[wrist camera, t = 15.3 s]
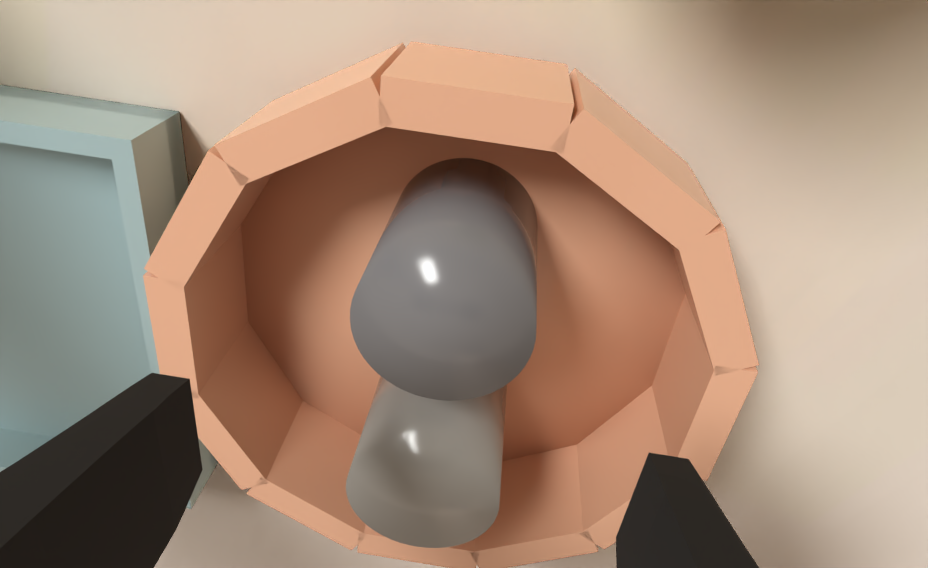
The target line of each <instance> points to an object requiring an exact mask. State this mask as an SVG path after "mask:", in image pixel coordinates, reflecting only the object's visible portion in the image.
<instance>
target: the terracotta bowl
mask: <svg viewBox="0 0 928 568" xmlns="http://www.w3.org/2000/svg"><path fill="white" fill-rule="evenodd" d="M455 158H472V159H478V160H483V161H486V162H489V163H492V164H494V165H497V166H499V167H500V168H502V169H504V170H506V171H507V172H509V173H510V174H511V175H512V176H514V177H515V178H516V179H517V180H518V181H519V182H520V183H521V184H522V185H523V187H524V188H525V189H526V191H527V192H528V194H529V196H530V198H531V199H532V202H533V204H534V207H535V211H536V215H537V224H538V230H537V326H536V341H535V345H534V349H533V352H532V354H531V357H530V359H529V361H528V362H527V364H526V366H525V367H524V368H523V370H522V371H521V372H520V373H519V374H518V375H517V376H516V377H515V378H514V379H513V380H512V381H511V382H509V383H508V384H507V393H506V408H505V424H504V440H503V456H502V472H501V488H500V503H499V511H498V515H497V517H496V519H495V521H494V523H493V524H492V525H491V527H490V528H489V529H488V530H487V531H486V532H485V533H483V534H482V535H480V536H479V537H477V538H475V539H474V540H472V541H469V542H467V543H464V544H460V545H457V546H452V547H444V548H424V547H416V546H411V545H407V544H403V543H399V542H397V541H394V540H391V539H389V538H387V537H385V536H383V535H381V534H379V533H377V532H376V531H374V530H373V529H371V528H370V527H368V526H367V525H366V524H365V523H364V522H363V521H362V520H361V519H360V518H359V517H358V516H357V515H356V513H355V512H354V510H353V509H352V507H351V505H350V503H349V501H348V498H347V494H346V480H347V476H348V473H349V470H350V467H351V464H352V461H353V458H354V455H355V452H356V449H357V446H358V443H359V440H360V437H361V434H362V431H363V428H364V425H365V421H366V418H367V415H368V412H369V409H370V406H371V403H372V400H373V397H374V394H375V391H376V388H377V385H378V382H379V379H380V375H379V374H378V373H377V372H376V371H375V370H374V369H373V368H372V367H371V366H370V365H369V364H368V363H367V362H366V360H365V359H364V358H363V356H362V355H361V353H360V351H359V350H358V348H357V345H356V343H355V341H354V338H353V335H352V331H351V325H350V307H351V302H352V298H353V296H354V293H355V290H356V288H357V286H358V284H359V282H360V280H361V277H362V275H363V273H364V271H365V269H366V267H367V265H368V263H369V261H370V259H371V256H372V254H373V252H374V250H375V248H376V246H377V244H378V242H379V240H380V238H381V235H382V233H383V231H384V229H385V227H386V225H387V223H388V221H389V219H390V217H391V214H392V212H393V210H394V208H395V206H396V204H397V202H398V200H399V198H400V195H401V194H402V192H403V190H404V188H405V187H406V185H407V184H408V183H409V182H410V180H411V179H412V178H413V177H414V176H415V175H416V174H418V173H419V172H420V171H422V170H423V169H425V168H427V167H428V166H430V165H432V164H435V163H437V162H440V161H444V160H448V159H455ZM144 269H145V270H147V272H146V273H145V274H144V275H143V279H144V285H145V291H146V297H147V302H148V308H149V314H150V320H151V325H152V331H153V337H154V342H155V348H156V354H157V360H158V365H159V371H160V374H163V375H169V376H176V377H182V378H188V379H190V385H191V392H192V399H193V406H194V413H195V420H196V427H197V434H198V438H199V439H200V440H201V442H202V443H203V444H204V445H205V446H206V448H207V449H208V450H209V451H210V453H211V454H212V455H213V456H214V457H215V459H216V460H217V461H218V462H219V463H220V465H221V466H222V467H223V468H224V469H225V471H226V472H227V473H228V474H229V476H230V477H231V478H232V479H233V480H234V482H235V483H236V484H237V485H238V486H239V488H240V489H241V490H243V489H247V488H249V490H248V492H247V494H248V495H249V496H251V497H253V498H255V499H257V500H259V501H261V502H262V503H264V504H266V505H268V506H270V507H272V508H274V509H275V510H277V511H279V512H281V513H283V514H285V515H287V516H288V517H290V518H292V519H294V520H296V521H298V522H300V523H301V524H303V525H305V526H307V527H309V528H311V529H312V530H314V531H316V532H318V533H320V534H322V535H324V536H325V537H327V538H329V539H331V540H333V541H335V542H337V543H338V544H340V545H342V546H344V547H346V548H348V549H350V550H352V549H353V548H354V547H356V546H357V545H358V553H364V554H370V555H376V556H382V557H388V558H394V559H400V560H406V561H412V562H418V563H424V564H430V565H436V566H442V567H448V568H476V565H478V567H479V568H508V567H513V566H519V565H525V564H531V563H537V562H542V561H548V560H554V559H560V558H565V557H571V556H577V555H583V554H589V553H594V552H598V546H599V547H601V548H603V549H606V548H608V547H609V546H611V545H612V544H614V543H615V542H616V536H617V533H618V531H619V528H620V526H621V523H622V520H623V518H624V515H625V513H626V510H627V507H628V505H629V502H630V500H631V497H632V495H633V492H634V489H635V487H636V484H637V482H638V479H639V476H640V474H641V471H642V469H643V466H644V464H645V461H646V458H647V456H648V453H655V454H661V455H668V456H674V457H680V458H686V459H689V460H690V462H691V463H692V465H693V466H694V468H695V469H696V471H697V472H698V474H699V475H700V477H701V479H702V480H706V481H707V480H708V477H709V475H710V473H711V471H712V469H713V467H714V465H715V463H716V460H717V458H718V456H719V454H720V452H721V450H722V448H723V446H724V443H725V441H726V439H727V437H728V435H729V433H730V431H731V429H732V427H733V424H734V422H735V420H736V418H737V416H738V414H739V412H740V410H741V407H742V405H743V403H744V401H745V399H746V397H747V395H748V393H749V390H750V388H751V386H752V384H753V382H754V380H755V378H756V376H757V374H758V371H757V369H756V367H755V366H758V365H759V363H758V359H757V355H756V351H755V347H754V343H753V339H752V335H751V331H750V327H749V323H748V319H747V315H746V311H745V306H744V302H743V298H742V294H741V290H740V286H739V282H738V278H737V274H736V270H735V266H734V262H733V258H732V254H731V250H730V245H729V241H728V237H727V233H726V229H725V228H724V226H723V224H722V222H721V220H720V219H719V217H718V215H717V213H716V212H715V210H714V208H713V206H712V205H711V203H710V201H709V199H708V198H707V196H706V194H705V192H704V191H703V189H702V187H701V185H700V184H699V182H698V180H697V178H696V177H695V175H694V173H693V171H692V170H691V168H690V167H689V165H688V163H687V162H686V161H685V160H683V159H682V158H681V157H680V156H679V155H678V154H676V153H675V152H674V151H673V150H672V149H670V148H669V147H668V146H667V145H666V144H665V143H663V142H662V141H661V140H660V139H659V138H657V137H656V136H655V135H654V134H653V133H652V132H650V131H649V130H648V129H647V128H646V127H644V126H643V125H642V124H641V123H640V122H639V121H637V120H636V119H635V118H634V117H633V116H631V115H630V114H629V113H628V112H627V111H626V110H624V109H623V108H622V107H621V106H620V105H618V104H617V103H616V102H615V101H614V100H613V99H611V98H610V97H609V96H608V95H607V94H605V93H604V92H603V91H602V90H601V89H600V88H598V87H597V86H596V85H595V84H594V83H592V82H591V81H590V80H589V79H588V78H587V77H585V76H584V75H583V74H582V73H581V72H579V71H578V70H577V69H576V68H575V69H574V70H573V71H572V72H571V73H570V75H569V72H568V66H567V64H562V63H555V62H548V61H541V60H534V59H528V58H521V57H514V56H507V55H500V54H494V53H487V52H480V51H473V50H466V49H459V48H453V47H446V46H439V45H432V44H425V43H419V42H412V41H411V43H410V44H409V45H408V46H407V47H406V48H405V46H404V44H403V43H401V44H399V45H397V46H394V47H392V48H390V49H388V50H385V51H383V52H381V53H379V54H376V55H374V56H372V57H370V58H367V59H365V60H363V61H361V62H358V63H356V64H354V65H352V66H349V67H347V68H345V69H343V70H340V71H338V72H336V73H334V74H332V75H329V76H327V77H325V78H323V79H320V80H318V81H316V82H314V83H311V84H309V85H307V86H305V87H302V88H300V89H298V90H296V91H293V92H291V93H289V94H287V95H284V96H282V97H280V98H278V99H276V100H273V101H272V102H271V103H269V104H268V105H267V106H265V107H264V108H263V109H261V110H260V111H259V112H257V113H256V114H255V115H253V116H252V117H251V118H249V119H248V120H247V121H245V122H244V123H243V124H241V125H240V126H239V127H237V128H236V129H235V130H233V131H232V132H231V133H229V134H228V135H227V136H225V137H224V138H223V139H221V140H220V141H219V142H217V143H216V144H215V146H213V147H212V148H211V149H209V150H208V152H207V153H206V155H205V157H204V159H203V161H202V163H201V164H200V166H199V168H198V170H197V172H196V174H195V175H194V177H193V179H192V181H191V183H190V185H189V186H188V188H187V190H186V192H185V194H184V196H183V198H182V199H181V201H180V203H179V205H178V207H177V209H176V210H175V212H174V214H173V216H172V218H171V220H170V221H169V223H168V225H167V227H166V229H165V231H164V233H163V234H162V236H161V238H160V240H159V242H158V244H157V245H156V247H155V249H154V251H153V253H152V255H151V256H150V258H149V260H148V262H147V264H146V266H145V268H144Z"/></svg>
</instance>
